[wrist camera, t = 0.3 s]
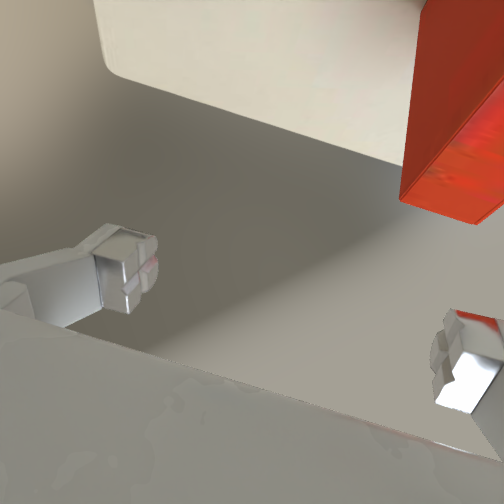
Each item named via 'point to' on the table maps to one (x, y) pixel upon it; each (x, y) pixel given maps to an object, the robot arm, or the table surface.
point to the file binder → (457, 111)
